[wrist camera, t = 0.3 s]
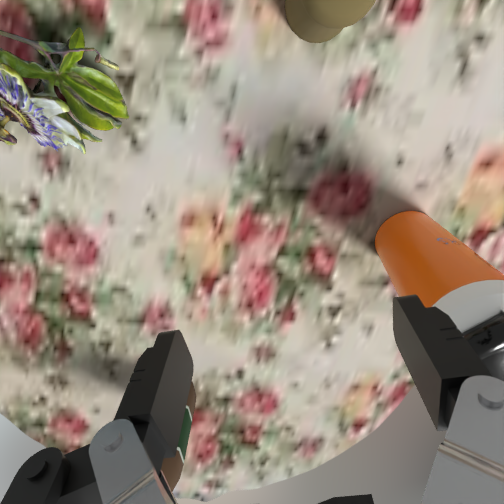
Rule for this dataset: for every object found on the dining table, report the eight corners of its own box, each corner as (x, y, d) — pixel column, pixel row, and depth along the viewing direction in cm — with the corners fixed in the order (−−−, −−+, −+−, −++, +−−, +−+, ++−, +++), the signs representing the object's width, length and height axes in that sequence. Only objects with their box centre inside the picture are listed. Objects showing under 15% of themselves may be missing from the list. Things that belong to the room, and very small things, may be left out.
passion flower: (73, 108, 40) (-60, 99, 31) (92, 8, 33) (-69, -41, 24) (126, 171, 37) (-4, 182, 28) (158, 74, 30) (3, 47, 21)
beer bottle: (202, 378, 53) (163, 583, 32) (192, 409, 57) (151, 611, 36) (153, 366, 52) (80, 570, 31) (145, 399, 56) (76, 600, 35)
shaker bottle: (398, 281, 44) (489, 427, 26) (350, 241, 41) (416, 373, 24) (459, 233, 40) (610, 364, 23) (411, 186, 38) (540, 293, 20)
